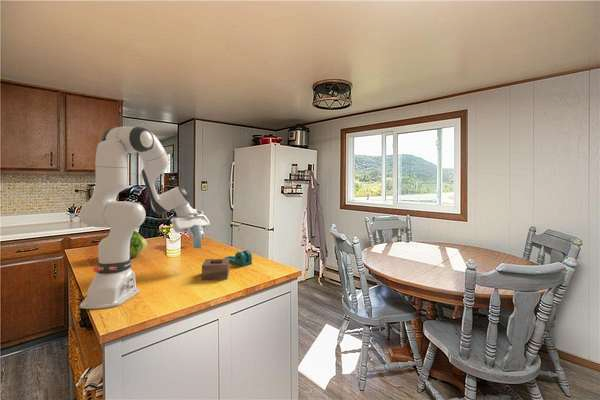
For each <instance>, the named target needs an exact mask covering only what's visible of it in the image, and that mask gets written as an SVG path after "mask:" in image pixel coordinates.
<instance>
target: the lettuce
mask: <svg viewBox="0 0 600 400" xmlns="http://www.w3.org/2000/svg"><path fill="white" fill-rule="evenodd" d="M106 237H108V235H107V236H106ZM147 247H148V241H147V240H146V239H145V238H144V237H143V236H142V235H141V234H140V233H139V232H137V231H136V230H135V231H134V232H133V234H132V237H131V240H130V259H131V258H133V257H134V258H135V257H136V256H138V255H139V254H140V253H141V252H143V251H144V250H145V249H146V248H147Z"/></svg>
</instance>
